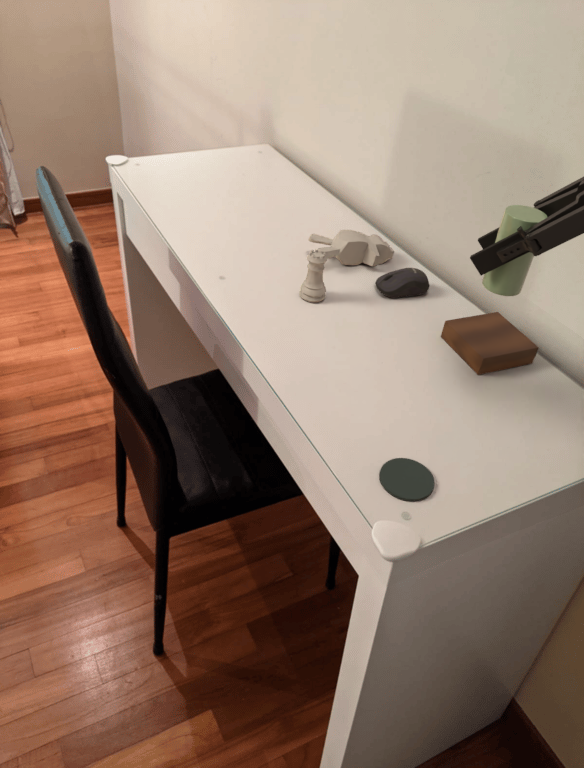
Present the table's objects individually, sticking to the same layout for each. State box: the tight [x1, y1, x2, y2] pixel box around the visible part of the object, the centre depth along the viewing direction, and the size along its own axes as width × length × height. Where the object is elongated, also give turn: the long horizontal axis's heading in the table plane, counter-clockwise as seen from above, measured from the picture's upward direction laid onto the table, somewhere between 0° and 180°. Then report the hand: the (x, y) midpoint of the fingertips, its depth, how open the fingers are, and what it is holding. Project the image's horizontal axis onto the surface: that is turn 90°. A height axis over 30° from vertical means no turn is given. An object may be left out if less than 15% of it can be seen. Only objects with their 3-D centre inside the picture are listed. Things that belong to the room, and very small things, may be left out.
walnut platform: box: [440, 311, 540, 376], centre depth 93 cm, size 10×10×3 cm
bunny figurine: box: [308, 229, 395, 267], centre depth 111 cm, size 10×5×15 cm
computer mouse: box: [374, 267, 430, 299], centre depth 104 cm, size 6×9×4 cm, turn 104°
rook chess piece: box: [299, 248, 328, 304], centre depth 99 cm, size 4×4×8 cm
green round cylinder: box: [481, 204, 547, 297], centre depth 76 cm, size 5×5×10 cm
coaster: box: [378, 457, 435, 502], centre depth 71 cm, size 6×6×1 cm
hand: (480, 256), depth 78 cm, fingers closed on green round cylinder, 5 cm apart
